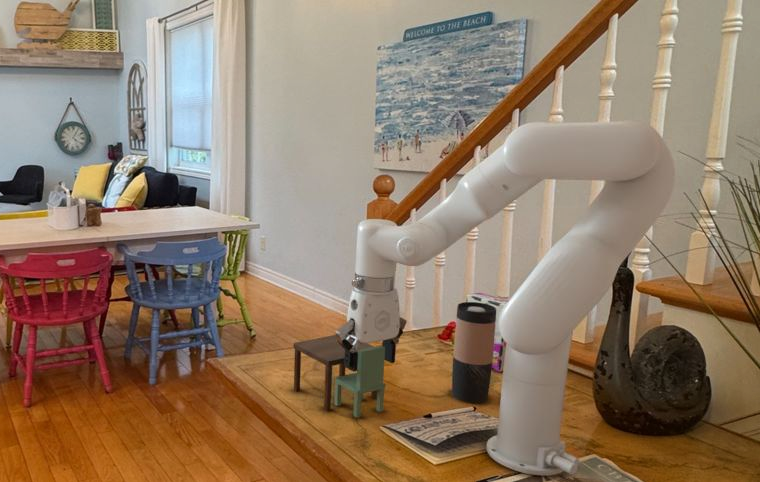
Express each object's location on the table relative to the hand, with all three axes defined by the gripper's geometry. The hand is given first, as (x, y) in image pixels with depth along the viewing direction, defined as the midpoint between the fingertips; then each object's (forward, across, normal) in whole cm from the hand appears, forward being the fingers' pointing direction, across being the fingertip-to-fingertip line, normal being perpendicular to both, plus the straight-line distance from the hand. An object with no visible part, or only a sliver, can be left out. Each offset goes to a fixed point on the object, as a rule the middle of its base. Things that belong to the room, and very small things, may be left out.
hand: (369, 364), depth 127 cm
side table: (+11, 0, +10) cm, 15 cm away
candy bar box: (+10, +44, +7) cm, 46 cm away
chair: (+10, 0, +3) cm, 11 cm away
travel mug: (+10, +25, -4) cm, 28 cm away
